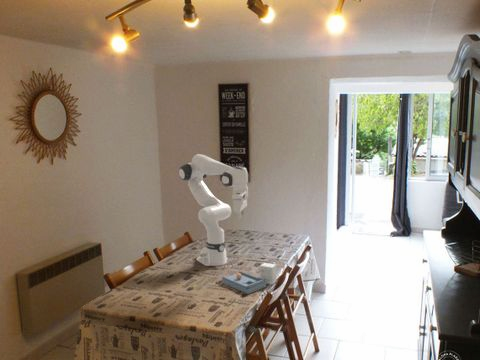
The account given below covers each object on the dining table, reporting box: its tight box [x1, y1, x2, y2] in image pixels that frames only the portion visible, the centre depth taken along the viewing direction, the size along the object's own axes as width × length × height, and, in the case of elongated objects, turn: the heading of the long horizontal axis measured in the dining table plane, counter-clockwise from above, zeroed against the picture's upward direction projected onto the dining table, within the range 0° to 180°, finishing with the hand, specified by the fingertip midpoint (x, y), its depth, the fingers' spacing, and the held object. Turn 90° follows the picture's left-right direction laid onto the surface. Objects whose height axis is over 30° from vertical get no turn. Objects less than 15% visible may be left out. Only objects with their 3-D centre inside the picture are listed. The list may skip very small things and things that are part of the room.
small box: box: [259, 262, 278, 286], centre depth 246 cm, size 8×6×10 cm
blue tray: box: [221, 270, 267, 294], centre depth 243 cm, size 22×14×4 cm, turn 42°
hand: (240, 216), depth 250 cm, fingers open, 8 cm apart
